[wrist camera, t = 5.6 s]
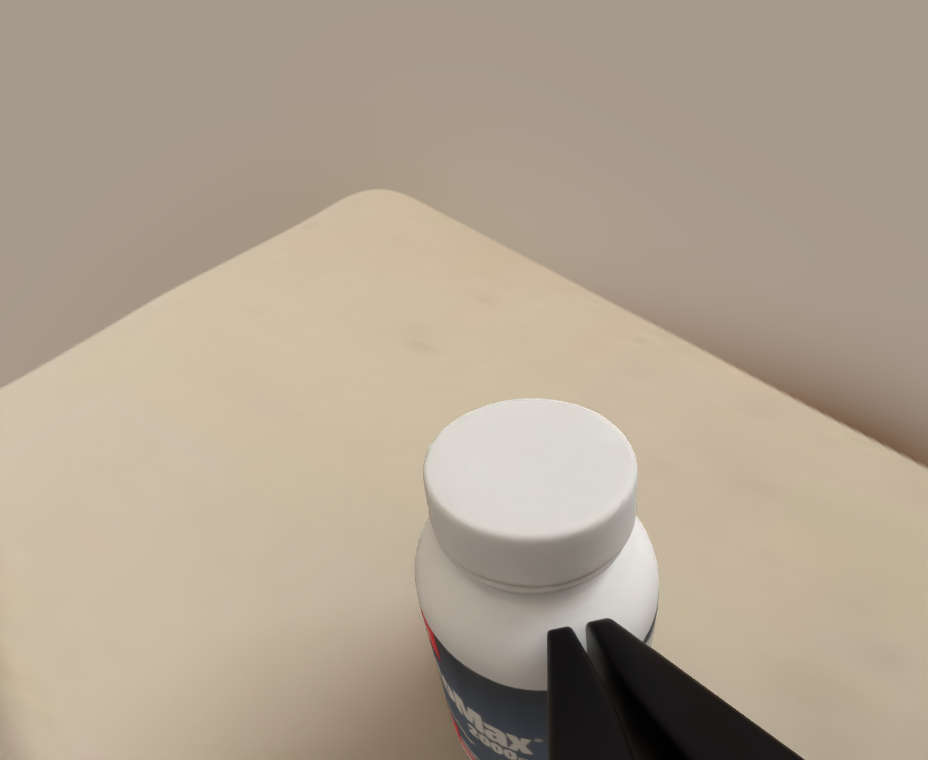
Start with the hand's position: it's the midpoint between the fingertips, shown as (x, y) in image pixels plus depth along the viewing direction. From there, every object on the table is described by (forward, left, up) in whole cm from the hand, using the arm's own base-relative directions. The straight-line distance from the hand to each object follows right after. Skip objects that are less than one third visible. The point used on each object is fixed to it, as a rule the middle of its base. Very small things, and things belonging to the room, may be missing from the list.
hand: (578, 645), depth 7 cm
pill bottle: (0, -1, -7) cm, 7 cm away
